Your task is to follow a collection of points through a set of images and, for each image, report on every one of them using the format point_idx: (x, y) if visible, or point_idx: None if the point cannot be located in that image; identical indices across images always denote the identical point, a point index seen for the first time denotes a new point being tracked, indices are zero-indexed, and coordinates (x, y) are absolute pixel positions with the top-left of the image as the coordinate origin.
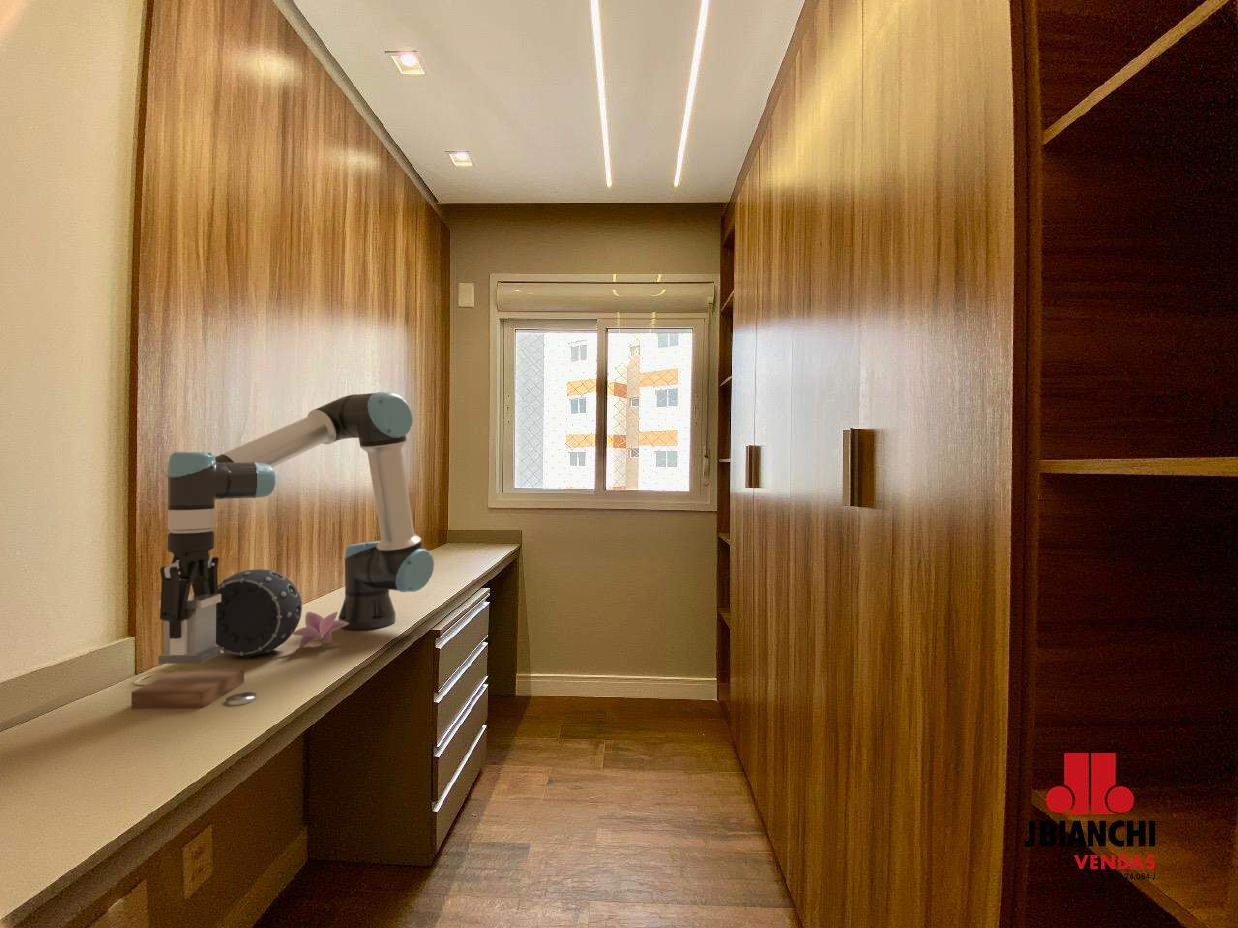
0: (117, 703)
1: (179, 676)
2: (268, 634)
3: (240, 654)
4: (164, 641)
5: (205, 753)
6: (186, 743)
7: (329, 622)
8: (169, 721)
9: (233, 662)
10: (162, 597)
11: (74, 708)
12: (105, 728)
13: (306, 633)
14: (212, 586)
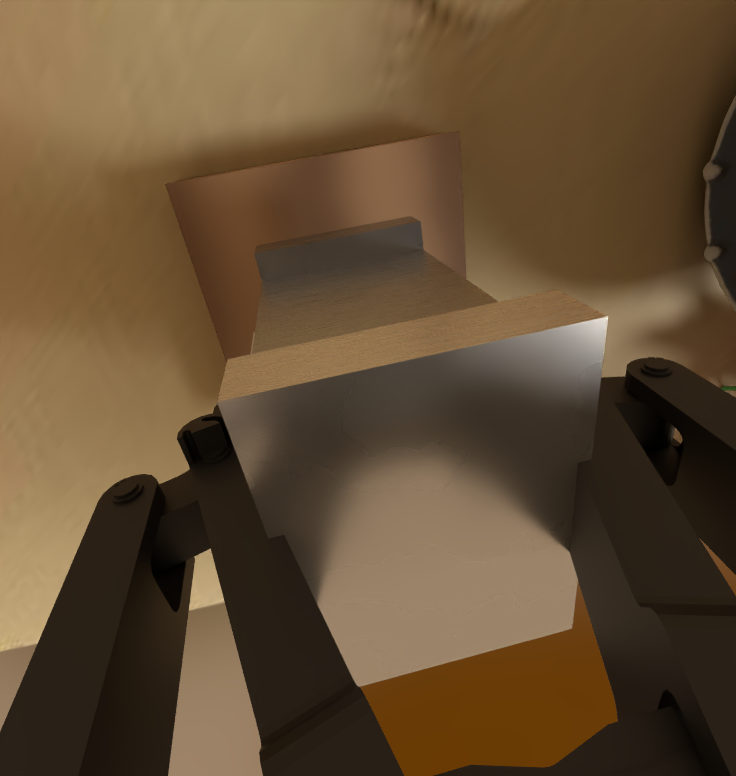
0: (199, 59)
1: (366, 222)
2: None
3: (705, 170)
4: (260, 305)
5: (52, 600)
6: (67, 538)
7: None
8: (145, 400)
9: (672, 151)
10: (36, 678)
11: None
12: (19, 259)
13: None
14: (725, 552)
